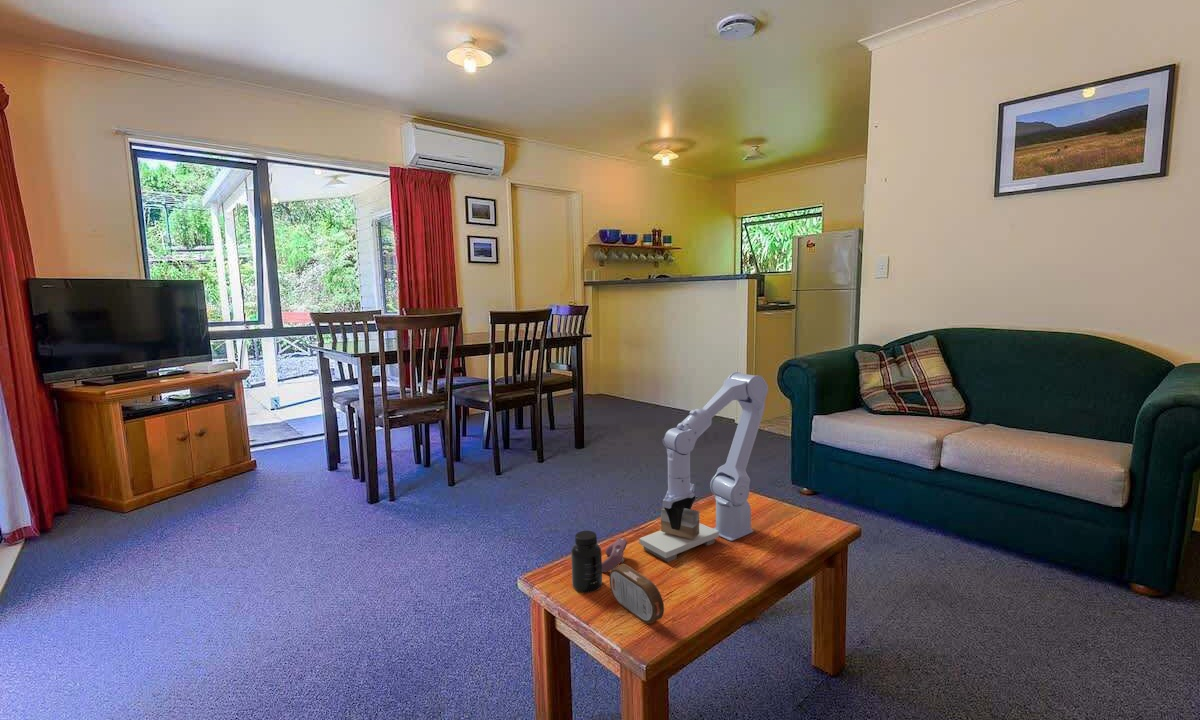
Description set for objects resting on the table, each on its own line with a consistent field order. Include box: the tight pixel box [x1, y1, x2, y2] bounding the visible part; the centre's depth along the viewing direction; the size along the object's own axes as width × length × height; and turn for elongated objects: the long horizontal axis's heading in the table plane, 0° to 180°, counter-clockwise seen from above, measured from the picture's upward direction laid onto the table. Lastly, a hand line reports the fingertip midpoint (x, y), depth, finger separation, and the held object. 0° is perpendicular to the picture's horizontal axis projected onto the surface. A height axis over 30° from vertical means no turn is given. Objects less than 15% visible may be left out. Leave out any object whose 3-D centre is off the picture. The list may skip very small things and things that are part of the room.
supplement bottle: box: [570, 530, 603, 594], centre depth 117 cm, size 7×7×12 cm
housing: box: [660, 506, 700, 539], centre depth 136 cm, size 4×9×6 cm, turn 55°
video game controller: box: [602, 537, 628, 573], centre depth 127 cm, size 10×5×7 cm, turn 169°
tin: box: [609, 563, 665, 625], centre depth 107 cm, size 15×3×8 cm, turn 35°
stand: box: [638, 522, 720, 563], centre depth 136 cm, size 19×10×3 cm, turn 126°
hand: (679, 525), depth 136 cm, fingers closed on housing, 4 cm apart
